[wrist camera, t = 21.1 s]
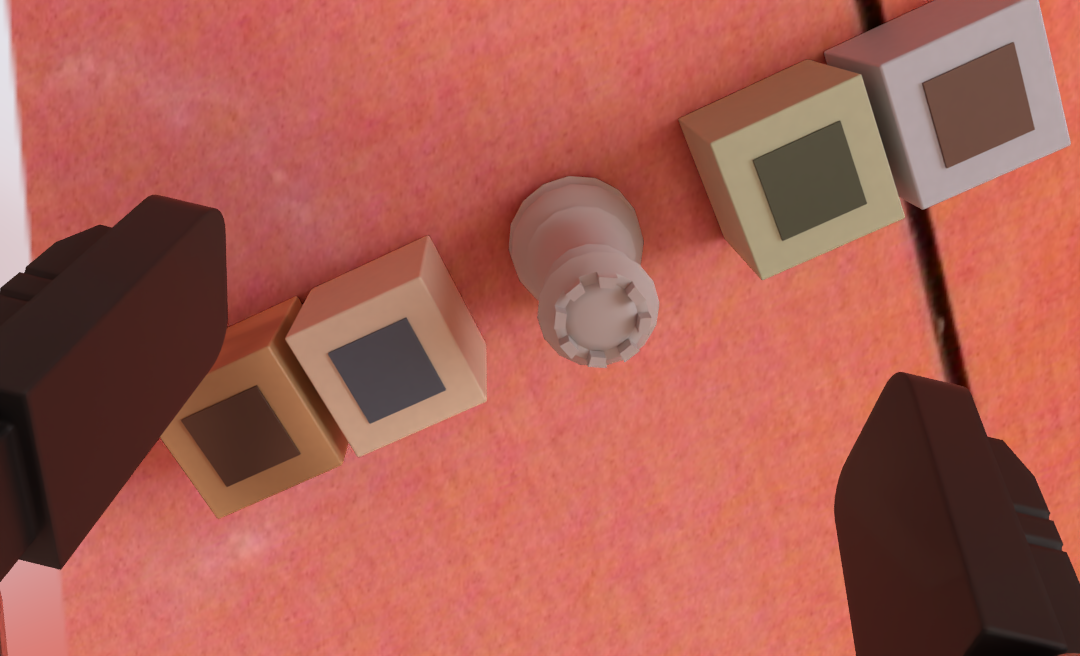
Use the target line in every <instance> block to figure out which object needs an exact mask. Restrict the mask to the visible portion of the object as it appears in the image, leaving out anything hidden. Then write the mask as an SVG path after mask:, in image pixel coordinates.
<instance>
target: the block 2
mask: <svg viewBox="0 0 1080 656" xmlns="http://www.w3.org/2000/svg"><path fill="white" fill-rule="evenodd" d="M285 340H286V342H287V343H288V345H289V347H290V348H291V350H292V351H293V353H294V355H295V356H296V358H297V360H298V361H299V363H300V364H301V366H302V368H303V369H304V371H305V373H306V374H307V376H308V377H309V379H310V381H311V382H312V384H313V386H314V387H315V389H316V390H317V392H318V394H319V395H320V397H321V399H322V400H323V402H324V403H325V405H326V407H327V408H328V410H329V412H330V413H331V415H332V416H333V418H334V420H335V421H336V423H337V424H338V426H339V428H340V429H341V431H342V433H343V434H344V436H345V437H346V439H347V441H348V442H349V444H350V446H351V447H352V449H353V450H354V452H355V454H356V455H357V457H361V456H363V455H366V454H368V453H370V452H372V451H375V450H377V449H379V448H381V447H384V446H386V445H388V444H391V443H393V442H395V441H397V440H400V439H402V438H404V437H407V436H409V435H411V434H413V433H416V432H418V431H420V430H422V429H425V428H427V427H429V426H432V425H434V424H436V423H438V422H441V421H443V420H445V419H448V418H450V417H452V416H454V415H457V414H459V413H461V412H463V411H466V410H468V409H470V408H473V407H475V406H477V405H479V404H482V403H484V402H486V401H487V364H486V343H485V341H484V339H483V337H482V335H481V333H480V331H479V330H478V328H477V326H476V324H475V322H474V320H473V318H472V316H471V314H470V312H469V310H468V309H467V307H466V305H465V303H464V301H463V299H462V297H461V295H460V293H459V291H458V289H457V287H456V286H455V284H454V282H453V280H452V278H451V276H450V274H449V272H448V270H447V268H446V266H445V265H444V263H443V261H442V259H441V257H440V255H439V253H438V251H437V249H436V247H435V245H434V243H433V242H432V240H431V238H430V236H425V237H422V238H420V239H418V240H416V241H414V242H412V243H410V244H407V245H405V246H403V247H401V248H399V249H397V250H394V251H392V252H390V253H388V254H386V255H384V256H381V257H379V258H377V259H375V260H373V261H371V262H368V263H366V264H364V265H362V266H360V267H358V268H356V269H353V270H351V271H349V272H347V273H345V274H343V275H340V276H338V277H336V278H334V279H332V280H330V281H327V282H325V283H323V284H321V285H319V286H317V287H315V288H312V289H311V291H310V293H309V295H308V296H307V298H306V300H305V302H304V304H303V306H302V308H301V310H300V311H299V313H298V315H297V317H296V319H295V321H294V323H293V325H292V326H291V328H290V330H289V332H288V334H287V336H286V338H285Z"/></svg>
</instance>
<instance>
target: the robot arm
mask: <svg viewBox="0 0 1080 656" xmlns="http://www.w3.org/2000/svg"><path fill="white" fill-rule="evenodd" d="M227 321H228V305H227V270H226V234H225V223H224V218H223V216H222V214H221V212H220V211H219V210H218V209H215V208H211V207H206V206H202V205H198V204H194V203H190V202H185V201H181V200H177V199H173V198H168V197H164V196H160V195H151V196H149V197H147V198H146V199H144V200H143V201H142V202H141V203H140V204H139V205H138V206H136V207H135V208H134V209H133V210H132V211H131V212H130V213H129V214H127V215H126V216H125V217H124V218H123V219H122V220H121V221H119V222H118V223H117V224H116V225H115V226H114V227H113V228H111V227H107V226H103V225H97V226H95V227H93V228H90V229H88V230H85V231H83V232H80V233H78V234H75V235H73V236H70V237H68V238H65V239H63V240H60V241H58V242H56V243H54V244H53V245H52V246H51V247H50V248H48V249H47V250H46V251H45V252H44V253H42V254H41V255H40V256H39V257H38V258H36V259H35V260H34V261H33V262H31V263H30V264H29V265H28V266H27V267H26V270H25V272H24V273H20V272H19V273H18V274H17V275H16V276H14V277H13V278H12V279H11V280H10V281H9V282H7V283H6V284H5V285H4V286H2V287H1V288H0V582H1V581H2V579H3V578H4V577H5V576H6V574H7V573H8V572H9V571H10V569H11V568H12V567H13V566H14V564H15V563H16V562H17V561H18V559H20V560H23V561H28V562H32V563H36V564H40V565H44V566H48V567H52V568H56V569H60V570H61V569H62V567H63V566H64V565H65V563H66V562H67V561H68V559H69V558H70V557H71V555H72V554H73V553H74V551H75V550H76V549H77V547H78V546H79V545H80V543H81V542H82V541H83V539H84V538H85V537H86V535H87V534H88V533H89V531H90V530H91V529H92V527H93V526H94V525H95V523H96V522H97V521H98V519H99V518H100V517H101V515H102V514H103V513H104V511H105V510H106V509H107V507H108V506H109V505H110V503H111V502H112V501H113V499H114V498H115V497H116V495H117V494H118V493H119V491H120V490H121V489H122V487H123V486H124V485H125V483H126V482H127V481H128V479H129V478H130V477H131V475H132V474H133V473H134V471H135V470H136V468H137V467H138V466H139V464H140V463H141V462H142V460H143V459H144V458H145V456H146V455H147V454H148V452H149V451H150V450H151V448H152V447H153V446H154V444H155V443H156V442H157V440H158V439H159V438H160V436H161V435H162V434H163V432H164V431H165V430H166V428H167V427H168V426H169V424H170V423H171V422H172V420H173V419H174V418H175V416H176V415H177V414H178V412H179V411H180V410H181V408H182V407H183V406H184V404H185V403H186V402H187V400H188V399H189V398H190V396H191V395H192V394H193V392H194V391H195V390H196V388H197V387H198V386H199V384H200V383H201V382H202V380H203V379H204V378H205V376H206V375H207V374H208V372H209V371H210V369H211V368H212V367H213V365H214V364H215V362H216V360H217V358H218V356H219V353H220V351H221V348H222V345H223V342H224V339H225V334H226V329H227ZM834 515H835V523H836V529H837V536H838V542H839V549H840V555H841V561H842V568H843V574H844V581H845V587H846V593H847V600H848V606H849V612H850V619H851V625H852V632H853V638H854V644H855V651H856V656H1080V583H1079V581H1078V578H1077V576H1076V573H1075V571H1074V569H1073V566H1072V564H1071V562H1070V559H1069V557H1068V555H1067V552H1063V551H1062V545H1063V543H1062V540H1061V538H1060V536H1059V533H1058V531H1057V529H1056V526H1055V524H1054V522H1053V521H1051V520H1049V515H1050V512H1049V510H1048V507H1047V505H1046V503H1045V500H1044V498H1043V496H1042V493H1041V491H1040V489H1039V486H1038V484H1037V481H1036V479H1035V477H1034V475H1033V474H1032V473H1031V472H1030V471H1029V470H1028V469H1027V467H1026V466H1025V465H1024V464H1023V463H1022V462H1021V461H1020V459H1019V458H1018V457H1017V456H1016V455H1015V454H1014V453H1013V451H1012V450H1011V449H1010V448H1009V447H1008V446H1007V445H1006V443H1005V442H1004V441H1003V440H999V439H995V438H991V437H987V434H986V432H985V429H984V427H983V424H982V421H981V419H980V416H979V413H978V411H977V408H976V406H975V403H974V400H973V398H972V395H971V393H970V392H969V390H968V389H967V388H965V387H963V386H959V385H955V384H950V383H946V382H942V381H938V380H933V379H929V378H925V377H921V376H916V375H912V374H908V373H904V372H898V373H896V374H894V375H893V376H892V377H891V378H890V379H889V381H888V382H887V384H886V385H885V387H884V389H883V391H882V393H881V395H880V396H879V398H878V400H877V402H876V404H875V406H874V408H873V410H872V412H871V414H870V416H869V418H868V420H867V422H866V423H865V425H864V427H863V429H862V431H861V433H860V435H859V437H858V439H857V441H856V443H855V445H854V447H853V448H852V450H851V452H850V454H849V456H848V458H847V460H846V462H845V464H844V466H843V468H842V471H841V474H840V477H839V480H838V484H837V489H836V494H835V504H834ZM0 656H8V653H7V642H6V632H5V622H4V613H3V602H2V596H1V592H0Z"/></svg>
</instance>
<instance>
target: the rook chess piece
mask: <svg viewBox="0 0 1080 656" xmlns="http://www.w3.org/2000/svg"><path fill="white" fill-rule="evenodd" d="M643 244H644V240H643V237H642V233H641V230H640V226H639V222H638V219H637V216H636V212H635V209H634V208H633V207H632V206H631V204H630V203H629V202H628V201H627V199H626V198H625V197H624V196H623V195H622V193H621V192H620V191H619V190H618V189H616V188H614V187H612V186H610V185H608V184H606V183H604V182H602V181H600V180H598V179H596V178H589V177H576V176H567V177H564V178H561V179H558V180H555V181H552V182H549V183H545V184H543V185H542V186H541V187H539V188H538V189H537V190H536V191H535V192H533V193H532V194H531V195H530V196H529V197H527V198H526V199H525V200H524V201H523V202H522V204H521V206H520V208H519V210H518V212H517V214H516V215H515V217H514V219H513V221H512V223H511V228H510V240H509V252H510V255H511V258H512V261H513V264H514V267H515V270H516V273H517V275H518V278H519V281H520V282H521V283H522V284H523V285H524V286H525V287H526V288H527V290H528V291H529V292H530V293H531V294H532V295H533V296H534V297H535V298H536V299H537V300H539V305H538V316H537V318H538V321H539V324H540V327H541V330H542V333H543V336H544V339H545V340H546V341H547V342H548V343H549V344H550V345H551V346H552V348H553V349H554V350H555V351H556V352H557V353H558V354H559V355H560V356H562V357H564V358H567V359H569V360H571V361H573V362H575V363H577V364H580V365H588V367H599V368H607V365H609V364H612V363H615V362H618V361H622V360H624V362H626V361H627V360H629V359H630V358H631V357H632V356H634V355H635V354H636V353H638V352H639V349H640V348H641V347H642V346H644V345H645V343H646V341H647V340H648V338H649V336H650V335H651V333H652V331H653V330H654V328H655V326H656V323H657V316H658V309H659V300H658V296H657V293H656V289H655V285H654V282H653V280H652V279H651V278H650V277H649V276H648V274H647V273H646V272H645V271H644V270H643V268H642V267H641V259H642V251H643Z"/></svg>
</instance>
